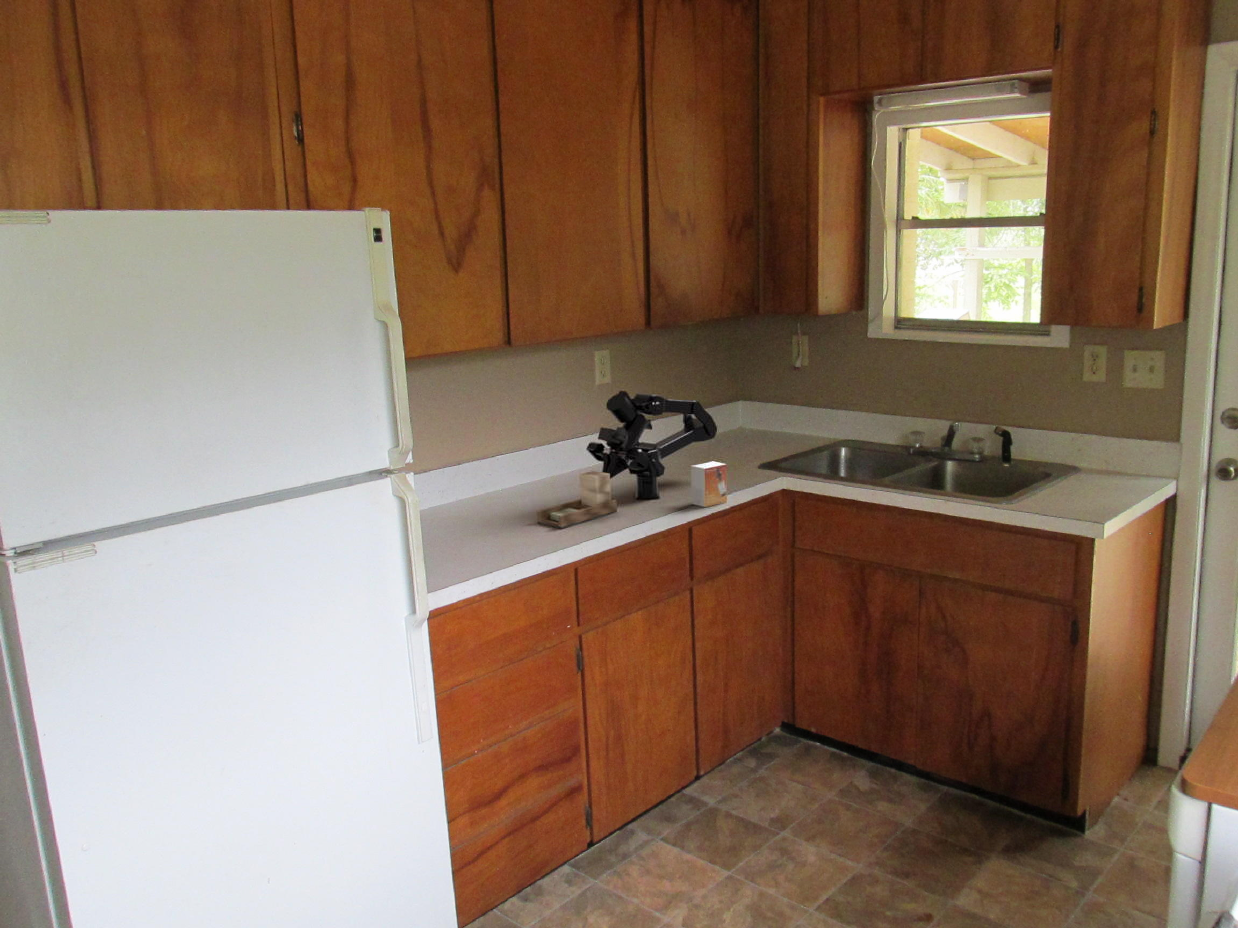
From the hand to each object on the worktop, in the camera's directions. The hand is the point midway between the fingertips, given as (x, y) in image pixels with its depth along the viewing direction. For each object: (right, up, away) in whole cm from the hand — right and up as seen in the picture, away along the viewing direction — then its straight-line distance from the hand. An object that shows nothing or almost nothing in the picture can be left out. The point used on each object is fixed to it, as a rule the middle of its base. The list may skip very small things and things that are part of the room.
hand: (602, 481), depth 271 cm
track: (-6, -9, -5) cm, 12 cm away
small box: (+28, -6, +4) cm, 29 cm away
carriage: (-2, -6, -1) cm, 6 cm away
